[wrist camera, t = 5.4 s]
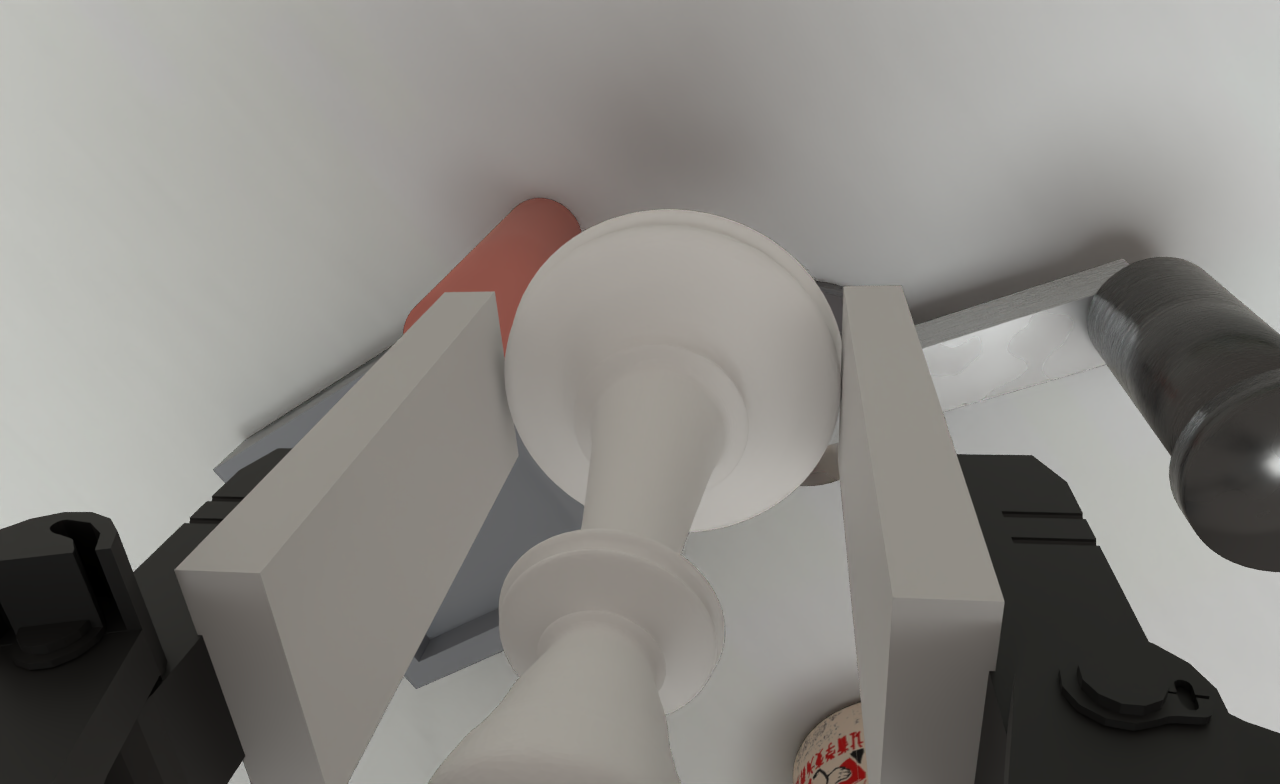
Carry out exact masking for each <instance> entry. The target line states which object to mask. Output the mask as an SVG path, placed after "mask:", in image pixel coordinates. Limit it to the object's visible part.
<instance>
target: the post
mask: <svg viewBox="0 0 1280 784" xmlns="http://www.w3.org/2000/svg"><path fill="white" fill-rule="evenodd" d="M580 233H581V230H580V226H579V224H578V222H577V220H576V218H575V217H574V216H573V214H572V213H571V212H570V211H569V210H568V209H567V208H566V207H564V206H563V205H561V204H560V203H558V202H555V201H553V200H550V199H545V198H535V199H530V200H527V201H524V202H522V203H521V204H519V205H518V206H516V207H515V208H514V209H513V210H512V211H511V212H510V213H509V214H508V215H507V216H506V217H505V218H504V219H503V220H502V221H501V222H500V223H499V224H498V225H497V226H496V227H495V228H494V229H493V230H492V231H491V232H490V233H489V234H488V235H487V236H486V237H485V238H484V239H483V240H482V241H481V242H480V243H479V244H478V245H477V246H476V247H475V248H474V249H473V250H472V251H471V252H470V253H469V254H468V255H467V256H466V257H465V258H464V259H463V260H462V261H461V262H460V263H459V264H458V265H457V266H456V267H455V268H454V269H453V270H452V271H451V272H450V273H449V274H448V275H447V276H446V277H445V278H444V279H443V280H442V281H441V282H440V283H439V284H438V285H437V286H436V287H435V288H434V289H432V290H431V291H430V292H429V293H428V294H427V295H426V296H425V297H424V298H423V299H422V300H421V301H420V302H419V303H418V304H417V305H416V306H415V307H414V309H413V310H412V311H411V312H410V314H409V315H408V317H407V319H406V322H405V325H404V331H403V335H404V334H405V333H406V331H407V330H408V329H409V328H410V327H411V326H412V325H413V324H414V323H415V322H416V321H417V320H418V319H419V318H420V317H421V316H422V315H423V314H424V313H425V312H426V311H427V310H428V309H429V308H430V307H431V306H432V305H433V304H434V303H435V302H436V301H437V300H438V299H439V298H440V297H441V296H442V295H443V294H444V292H493V291H495V296H496V303H497V310H498V317H499V324H500V331H501V337H502V344H503V351H504V358H505V353H506V347H507V342H508V338H509V334H510V330H511V328H512V325H513V321H514V318H515V314H516V311H517V308H518V306H519V303H520V301H521V298H522V296H523V294H524V292H525V290H526V289H527V287H528V285H529V283H530V282H531V280H532V279H533V277H534V276H535V274H536V273H537V271H538V270H539V269H540V268H541V266H542V265H543V264H544V263H545V262H546V261H547V260H548V259H549V257H550V256H551V255H552V254H554V253H555V252H556V251H557V250H558V249H559V248H560V247H561V246H563V245H564V244H565V243H567V242H568V241H569V240H571V239H572V238H573V237H575V236H577V235H578V234H580Z"/></svg>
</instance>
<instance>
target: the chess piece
mask: <svg viewBox="0 0 1280 784" xmlns="http://www.w3.org/2000/svg"><path fill="white" fill-rule="evenodd" d="M841 351H842V341H841V336H840V332H839V329H838V326H837V323H836V320H835V317H834V315H833V312H832V310H831V308H830V306H829V304H828V302H827V300H826V298H825V296H824V294H823V293H822V291H821V290H820V288H819V287H818V285H817V284H816V282H815V281H814V280H813V278H812V277H811V276H810V274H809V273H808V272H807V271H806V270H805V269H804V267H803V266H802V265H801V264H800V263H799V262H798V261H797V260H796V259H795V258H794V257H793V256H791V255H790V254H789V253H788V252H787V251H786V250H784V249H783V248H782V247H780V246H779V245H778V244H776V243H775V242H774V241H772V240H771V239H769V238H768V237H766V236H764V235H763V234H761V233H759V232H757V231H755V230H753V229H751V228H749V227H747V226H745V225H743V224H740V223H738V222H736V221H733V220H730V219H727V218H724V217H721V216H717V215H713V214H709V213H704V212H698V211H690V210H680V209H657V210H647V211H640V212H634V213H630V214H625V215H622V216H619V217H615V218H612V219H609V220H606V221H604V222H602V223H599V224H597V225H595V226H593V227H591V228H589V229H587V230H585V231H583V232H581V233H580V234H578V235H577V236H575V237H573V238H572V239H571V240H569V241H568V242H567V243H565V244H564V245H563V246H561V247H560V248H559V249H558V250H557V251H556V252H555V253H554V254H552V255H551V256H550V257H549V259H548V260H547V261H546V262H545V263H544V264H543V265H542V266H541V268H540V269H539V270H538V271H537V273H536V274H535V276H534V277H533V279H532V280H531V282H530V283H529V285H528V287H527V289H526V290H525V292H524V294H523V296H522V298H521V301H520V303H519V306H518V308H517V311H516V314H515V318H514V321H513V325H512V328H511V330H510V334H509V338H508V342H507V347H506V353H505V366H504V377H505V390H506V396H507V401H508V406H509V409H510V413H511V416H512V419H513V422H514V424H515V427H516V429H517V431H518V434H519V436H520V438H521V440H522V442H523V443H524V445H525V447H526V448H527V450H528V452H529V453H530V455H531V456H532V458H533V459H534V460H535V462H536V463H537V464H538V466H539V467H540V468H541V469H542V470H543V471H544V473H545V474H546V475H547V476H548V477H549V478H550V479H551V480H552V481H553V482H554V483H555V484H556V485H557V486H559V487H560V488H561V489H562V490H563V491H564V492H566V493H567V494H568V495H570V496H571V497H572V498H574V499H575V500H577V501H578V502H580V503H581V504H583V505H584V512H583V520H582V526H581V530H576V531H571V532H566V533H562V534H559V535H556V536H553V537H551V538H549V539H547V540H544V541H542V542H540V543H539V544H537V545H535V546H534V547H532V548H531V549H529V550H528V551H527V552H526V553H525V554H524V555H522V556H521V557H520V558H519V560H518V561H517V562H516V563H515V564H514V565H513V567H512V568H511V570H510V571H509V573H508V575H507V577H506V578H505V581H504V583H503V586H502V589H501V593H500V598H499V632H500V639H501V643H502V646H503V650H504V652H505V654H506V656H507V659H508V661H509V663H510V664H511V666H512V667H513V669H514V670H515V672H516V673H517V675H518V676H519V677H520V678H519V679H518V680H517V681H516V682H515V684H514V685H513V686H512V688H511V689H510V690H509V692H508V693H507V695H506V697H505V698H504V699H503V701H502V702H501V703H500V704H499V705H498V706H497V707H496V709H495V710H494V711H493V712H492V713H491V714H490V715H489V716H488V717H487V718H486V719H485V720H484V721H483V722H482V723H481V724H480V725H478V726H477V727H476V728H474V729H473V730H472V731H471V732H470V733H469V734H468V735H467V736H466V737H465V738H464V739H463V740H462V741H461V742H460V743H459V745H458V746H457V747H456V748H455V749H454V750H453V751H452V752H451V754H450V755H449V756H448V757H447V758H446V759H445V761H444V762H443V763H442V764H441V765H440V767H439V768H438V769H437V771H436V772H435V774H434V775H433V776H432V778H431V779H430V781H429V782H428V784H681V781H680V779H679V777H678V775H677V772H676V769H675V765H674V760H673V757H672V753H671V749H670V744H669V736H668V726H667V721H666V716H665V715H667V714H670V713H672V712H674V711H676V710H678V709H680V708H681V707H683V706H684V705H686V704H687V703H689V702H690V701H691V700H692V699H693V698H695V697H696V696H697V695H698V693H699V692H700V691H701V690H702V689H703V687H704V686H705V685H706V683H707V682H708V680H709V678H710V676H711V674H712V672H713V670H714V669H715V667H716V666H717V664H718V662H719V659H720V657H721V654H722V651H723V646H724V641H725V622H724V616H723V612H722V608H721V606H720V603H719V600H718V598H717V596H716V594H715V592H714V590H713V589H712V587H711V586H710V584H709V583H708V581H707V580H706V579H705V578H704V576H703V575H702V574H701V573H700V572H699V571H698V570H697V569H696V568H695V567H694V565H692V564H691V563H690V562H689V561H688V560H687V559H685V558H684V557H683V556H681V553H682V550H683V547H684V544H685V542H686V539H687V536H688V534H689V532H700V531H707V530H714V529H719V528H723V527H727V526H731V525H734V524H737V523H740V522H743V521H745V520H748V519H750V518H753V517H755V516H757V515H759V514H761V513H763V512H765V511H766V510H768V509H770V508H772V507H773V506H775V505H776V504H778V503H779V502H781V501H782V500H783V499H785V498H786V497H787V496H788V495H790V494H791V493H792V492H793V491H794V490H795V489H796V488H797V487H799V486H800V484H801V483H802V482H803V481H804V480H805V479H806V478H807V477H808V476H809V474H810V473H811V472H812V471H813V469H814V468H815V467H816V465H817V464H818V462H819V461H820V459H821V457H822V456H823V454H824V452H825V450H826V448H827V446H828V444H829V442H830V439H831V437H832V435H833V432H834V428H835V425H836V422H837V418H838V413H839V408H840V400H841Z"/></svg>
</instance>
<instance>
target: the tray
mask: <svg viewBox="0 0 1280 784" xmlns="http://www.w3.org/2000/svg"><path fill="white" fill-rule="evenodd" d="M391 347H392V346H391ZM391 347H390V348H391ZM390 348H388V349H387V350H385V351H384V352H382V353H381V354H379V355H377V356H376V357H374V358H373V359H371V360H370V361H368V362H366V363H365V364H363V365H362V366H360V367H359V368H357V369H356V370H354V371H352V372H351V373H349V374H348V375H346V376H345V377H343V378H341V379H340V380H338V381H337V382H335V383H334V384H332V385H331V386H329V387H327V388H326V389H324V390H323V391H321V392H320V393H318V394H316V395H315V396H313V397H312V398H310V399H309V400H307V401H306V402H304V403H302V404H301V405H299V406H298V407H296V408H295V409H293V410H291V411H290V412H288V413H287V414H285V415H284V416H282V417H281V418H279V419H277V420H276V421H274V422H273V423H271V424H270V425H268V426H266V427H265V428H263V429H262V430H260V431H259V432H257V433H256V434H254V435H252V436H251V437H249V438H248V439H246V440H245V441H243V442H242V443H241V444H240V445H239V446H238V447H237V448H236V449H235V450H234V451H233V452H232V453H231V454H229V455H228V456H227V457H226V458H225V459H224V460H223V461H222V462H221V463H220V464H219V465H218V466H217V467H215V468H214V469H213V471H214V472H215V473H216V474H217V475H218V476H219V477H220V478H221V479H222V480H223V481H224V482H225V483H226V482H227V481H228V480H229V479H230V478H232V477H233V476H234V475H235V474H236V473H237V472H238V471H239V470H240V469H242V468H244V467H246V466H247V465H249V464H251V463H253V462H254V461H256V460H258V459H260V458H261V457H263V456H265V455H267V454H269V453H270V452H272V451H274V450H276V449H277V448H294V447H295V445H296V444H297V443H298V442H299V441H300V440H301V439H302V438H303V437H304V436H305V435H306V434H307V433H308V432H309V431H310V430H311V429H312V428H313V427H314V426H315V425H316V424H317V423H318V422H319V421H320V420H321V419H322V418H323V417H324V416H325V415H326V414H327V413H328V412H329V411H330V410H331V409H332V407H333V406H334V405H335V404H336V403H337V402H338V401H339V400H340V399H341V398H342V397H343V396H344V395H345V394H346V393H347V392H348V391H349V390H350V389H351V388H352V387H353V386H354V385H355V384H356V383H357V382H358V381H359V380H360V379H361V378H362V377H363V376H364V375H365V374H366V373H367V372H368V371H369V369H370V368H371V367H372V366H373V365H374V364H375V363H376V362H377V361H378V360H379V359H380V358H381V357H382V356H383V355H384V354H385V353H386V352H387V351H388V350H389V349H390ZM514 427H515V424H514ZM515 434H516V440H517V447H518V454H519V456H518V458H517V460H516V462H515V463H514V465H513V467H512V469H511V471H510V473H509V475H508V477H507V479H506V481H505V483H504V485H503V487H502V488H501V490H500V492H499V494H498V496H497V498H496V500H495V502H494V504H493V506H492V508H491V510H490V511H489V513H488V515H487V517H486V519H485V521H484V523H483V525H482V527H481V529H480V531H479V533H478V534H477V536H476V538H475V540H474V542H473V544H472V546H471V548H470V550H469V552H468V554H467V556H466V557H465V559H464V561H463V563H462V565H461V567H460V569H459V571H458V573H457V575H456V577H455V579H454V580H453V582H452V584H451V586H450V588H449V590H448V592H447V594H446V596H445V598H444V600H443V602H442V604H441V605H440V607H439V609H438V611H437V613H436V615H435V617H434V619H433V621H432V623H431V625H430V627H429V628H428V630H427V632H426V634H425V636H424V638H423V640H422V642H421V644H420V646H419V648H418V650H417V651H416V653H415V655H414V657H413V659H412V661H411V663H410V665H409V667H408V669H407V671H406V673H405V674H404V676H405V678H406V679H407V680H408V681H409V682H410V683H411V684H412V685H413V686H414V687H415V688H416V689H417V688H420V687H422V686H424V685H427V684H429V683H431V682H433V681H436V680H438V679H440V678H443V677H445V676H447V675H449V674H452V673H454V672H456V671H458V670H461V669H463V668H465V667H468V666H470V665H472V664H474V663H477V662H479V661H481V660H483V659H486V658H488V657H490V656H493V655H495V654H497V653H499V652H502V651H504V650H503V646H502V643H501V639H500V632H499V598H500V593H501V589H502V586H503V583H504V581H505V578H506V577H507V575H508V573H509V571H510V570H511V568H512V567H513V565H514V564H515V563H516V562H517V561H518V560H519V558H520V557H521V556H522V555H524V554H525V553H526V552H527V551H528V550H529V549H531V548H532V547H534V546H535V545H537V544H539V543H540V542H542V541H544V540H547V539H549V538H551V537H553V536H556V535H559V534H562V533H566V532H571V531H576V530H581V526H582V520H583V512H584V505H583V504H581V503H580V502H578V501H577V500H575V499H574V498H572V497H571V496H570V495H568V494H567V493H566V492H564V491H563V490H562V489H561V488H560V487H559V486H557V485H556V484H555V483H554V482H553V481H552V480H551V479H550V478H549V477H548V476H547V475H546V474H545V473H544V471H543V470H542V469H541V468H540V467H539V466H538V464H537V463H536V462H535V460H534V459H533V458H532V456H531V455H530V453H529V452H528V450H527V448H526V447H525V445H524V443H523V442H522V440H521V438H520V436H519V434H518V431H517V429H516V427H515Z"/></svg>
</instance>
